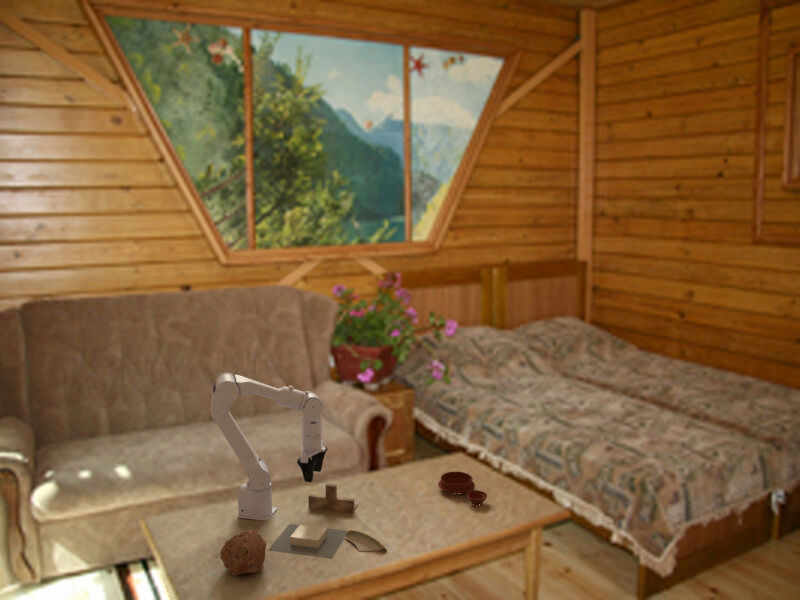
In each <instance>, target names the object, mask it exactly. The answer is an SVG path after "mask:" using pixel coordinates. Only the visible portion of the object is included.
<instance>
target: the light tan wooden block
mask: <svg viewBox="0 0 800 600" xmlns="http://www.w3.org/2000/svg"><path fill="white" fill-rule="evenodd" d="M298 525H299V527H298V528H297V529H296V530H295V532H294V533H293V534H292V536H291V545H292V546H300V547H308V548H316V549H319V547H320V546H321V545H322V543H323V542H324V540H325V539H326V537H327V528H328V527H322V526H314V525H305V524H298Z"/></svg>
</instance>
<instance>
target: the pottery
mask: <svg viewBox="0 0 800 600" xmlns="http://www.w3.org/2000/svg"><path fill="white" fill-rule="evenodd" d="M473 478H474V477H472V475H471V474H469V473H467V472H463V471H447V472H445V473H443V474H442V475H441V476H440V481H439V482H438V483H437V485H438V488H439V489H440V490H442V491H444V492H446V493H449V492H450V493H449V494H451V493H456V494H457V493H463V494H465V493H466V498H467V499H468V501H469V502H470V503H471V505H472V504H474V505H479V504H481V505H482V503H484V502H485V501H486V499H487V497H488V494H487V493H486V492H484V491H483V490H474V489H475V487H476V484H475V482H474V481H473ZM456 494H455V495H456ZM474 505H473V506H474Z"/></svg>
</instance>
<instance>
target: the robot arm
mask: <svg viewBox="0 0 800 600" xmlns="http://www.w3.org/2000/svg"><path fill="white" fill-rule="evenodd" d="M248 395H255V396H257V397H262V398H268V399H271V400H275V401H276V404H277V405H278V406H280V407H283V408H287V409H291V410H295V411H297V412H298V411H299V412H300V411H301V412H302V419H301V423H302V424H301V425H302V426H301V427H302V428H301V430H302V432H301V433H302V447H301V455H300V457H298V459H297V460H296V463H297V465H298V466H299V468H300V469H301V473H302V477H303V480H304V482H305V483H312V482H313V480H314V474H315V473H314V472H319V473H320V472H321V471H322V467H323V463H324V459H325V455H326V453H327V451H328V447H326V446H324V443H325V442H324V441H325V439H324V438H322V437H323V435H322V433H323V431H322V412H323V410H324V406H323V403H322V400H321V399H320V398H319V395H317V393H315V392H313V391H312V390H311V391H308V390H304V391H302V390H299V389H295V388H294V386H293V385H288V386H282V387H280V388H278V387H274V386H271V385H268V384H266V383H263V382H260V381H257V380H255V379H251V378H250V377H249V378H248V377H246V376H244V375H243V376H242V375H239V374H235V375H234V374H233V373H230V372H223V373H220V374H219V375H217V377H216V378H215V380H214V383H213V385H212V387H211V401H210V415H211V417H212V418H213V421H214V422H215V423H216V425H217V426H218V428H219V430H220V431H221V433H222V435H223V436H224V438H225V440H226V441H227V443H228V444H229V446H230V448H231V449H232V450H233V452H234V453H235V456H236V457H237V458H238V460H239V461H240V463H241V465H242V467H243V469H244V472H245V474H246V476H247V477H248V481H247V483H242V484H241V485H240V487H239V489H238V492H237V493H238V494H237V508H238V515H237V518H238V519H239V518H240V519H248V520H255V521H262V522H263V521H264V522H268V520H269V519H270V518H271V517H272V516H273V515H274V513H275V512H277V510H278V507H276V506H273V496H272V495H273V494H272V491H273V490H272V481H271V480H272V477H271V474H270V471H269V466H268V464H267V462H266V460H264V459H262V458H261V457H260V456H259V455H258V454H257V453H256V452H255V450H254V449H253V447H252V445H251V444H250V442H249V440H248V439H247V438H246V435H244V433H243V431H242V429H241V428H240V427H239V425H238V423H237V422H236V420H235V418H234V416H233V415H232V414H231V412H230V409H231V406H232V404H233V403H234V402H235V401H236V400H237V398H238V397H239V398H240V399H241V398H243V397H245V396H248Z"/></svg>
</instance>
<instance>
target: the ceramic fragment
mask: <svg viewBox="0 0 800 600" xmlns="http://www.w3.org/2000/svg"><path fill="white" fill-rule="evenodd" d="M347 531H348V532H347V533H346V535H345V537H344V540H345V541H347V542H348V543H350V544H352V545H353V546H354V547H355V548H356V549H357V551H358V552H359V553H363V552H365V553H366V552H369V553H370V552H387V551H388V550H387V548H386V547H385V546H384V545H383V544H382V543H381V542H380V541H379V540H377V539H376V538H375V537H374V536H372V535H370V534H367V533H364V532H362V531H358V530H353V529H350V530H347Z"/></svg>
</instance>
